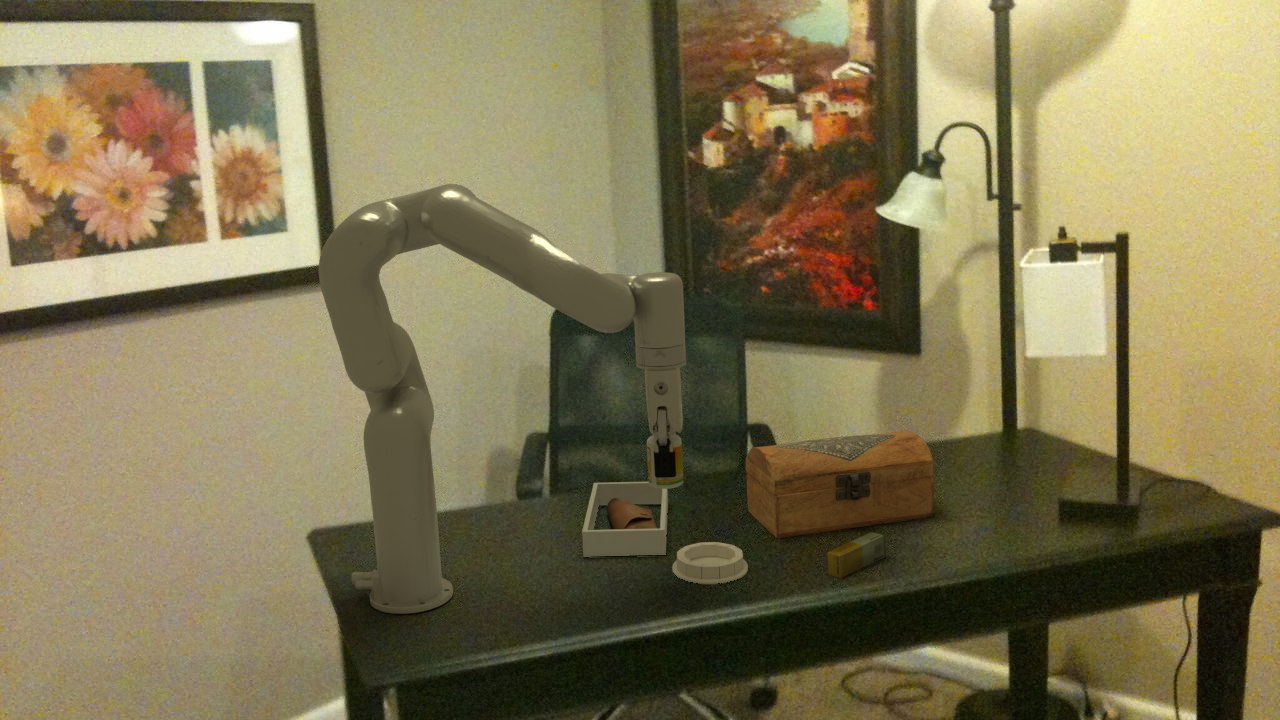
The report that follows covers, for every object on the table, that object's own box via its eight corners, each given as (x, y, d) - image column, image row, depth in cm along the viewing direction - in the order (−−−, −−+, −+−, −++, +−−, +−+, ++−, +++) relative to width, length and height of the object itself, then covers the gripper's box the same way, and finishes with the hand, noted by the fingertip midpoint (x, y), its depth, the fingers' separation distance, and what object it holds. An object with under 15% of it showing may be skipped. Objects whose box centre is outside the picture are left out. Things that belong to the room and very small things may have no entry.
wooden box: (776, 541, 203) (775, 463, 200) (745, 510, 218) (743, 437, 215) (939, 521, 209) (940, 444, 206) (897, 492, 225) (897, 421, 222)
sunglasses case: (669, 544, 202) (647, 514, 201) (634, 567, 202) (613, 537, 201) (651, 510, 220) (632, 481, 218) (620, 531, 220) (600, 503, 218)
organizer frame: (583, 557, 198) (582, 531, 197) (594, 505, 223) (593, 482, 222) (665, 555, 198) (664, 530, 197) (667, 504, 223) (667, 481, 222)
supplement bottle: (690, 482, 185) (688, 421, 183) (666, 491, 181) (664, 429, 179) (665, 476, 188) (662, 416, 186) (641, 485, 185) (638, 424, 183)
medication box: (873, 553, 196) (872, 530, 195) (886, 557, 194) (886, 534, 193) (826, 575, 188) (826, 551, 187) (840, 579, 186) (840, 555, 185)
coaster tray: (672, 585, 186) (671, 569, 185) (672, 556, 197) (672, 541, 197) (749, 583, 185) (749, 567, 185) (745, 554, 197) (745, 539, 196)
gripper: (685, 367, 172) (690, 487, 176) (686, 342, 189) (691, 453, 192) (632, 369, 172) (639, 489, 176) (638, 344, 189) (644, 454, 193)
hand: (666, 469), depth 184 cm, fingers closed on supplement bottle, 5 cm apart
